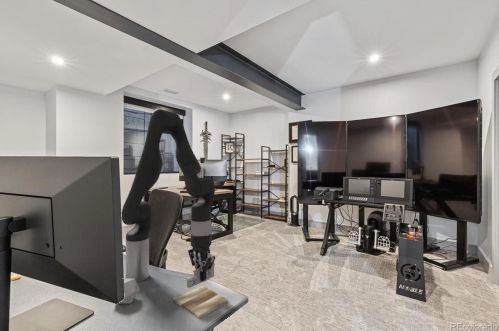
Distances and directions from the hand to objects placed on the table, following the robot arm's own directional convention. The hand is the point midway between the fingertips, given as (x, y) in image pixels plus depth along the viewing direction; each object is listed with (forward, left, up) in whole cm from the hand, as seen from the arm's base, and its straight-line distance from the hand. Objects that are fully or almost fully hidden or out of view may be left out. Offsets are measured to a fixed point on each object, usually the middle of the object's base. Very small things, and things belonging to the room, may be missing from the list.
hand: (201, 279), depth 87 cm
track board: (0, 0, -8) cm, 8 cm away
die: (-21, -18, -8) cm, 29 cm away
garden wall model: (0, 0, -1) cm, 1 cm away
